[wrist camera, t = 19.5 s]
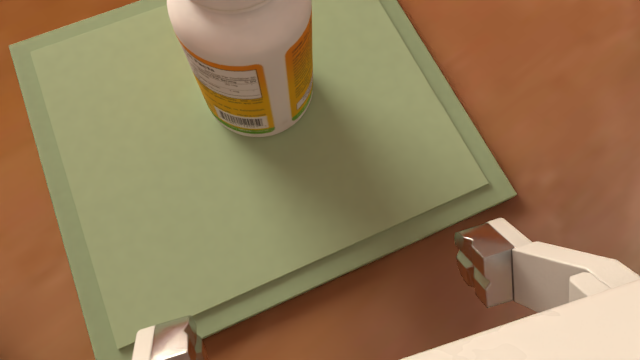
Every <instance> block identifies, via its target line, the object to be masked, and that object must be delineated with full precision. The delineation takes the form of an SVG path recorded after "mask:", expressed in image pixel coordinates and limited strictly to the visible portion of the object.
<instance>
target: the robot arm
mask: <svg viewBox="0 0 640 360" xmlns="http://www.w3.org/2000/svg"><path fill="white" fill-rule="evenodd" d="M454 239H455V245H456V246H457V247H458V248H459V252H458V254H457V256H456V259H457V266H458V269H459V271H460V274H461V276H462V278H463V280H464V281H465V282H466V284H467V285H468V286H471V287H474V288H475V294H476V296H477V297H478V298H479V299H480V300H481V302H482V303H483V304H484V305H485V306H486V307H487V308H489V307H493V306H496V305H499V304H503V303H506V302H509V301H513V300H514V302H517V303H519V304H521V305H523V306H525V307H527V308H530V309H532V310H534V311H536V312H538V313H537V314H534V315H531V316H528V317H525V318H522V319H519V320H516V321H513V322H510V323H507V324H504V325H501V326H498V327H495V328H492V329H489V330H486V331H483V332H480V333H477V334H474V335H471V336H468V337H465V338H463V339H460V340H457V341H454V342H451V343H448V344H445V345H442V346H439V347H436V348H433V349H430V350H427V351H424V352H421V353H418V354H415V355H412V356H409V357H406V358H403V359H400V360H640V276H639V275H638V274H636V273H635V272H633V271H632V270H631V269H629V268H628V267H626V266H625V265H623V264H622V263H621V262H619V261H618V260H615V259H611V258H606V257H602V256H598V255H594V254H589V253H585V252H581V251H577V250H572V249H568V248H564V247H560V246H555V245H551V244H547V243H543V242H538V241H537V242H532V241H530V240H529V239H528V238H527V237H525V236H524V235H523V234H522V233H521V232H519V231H518V230H517V229H516V228H515V227H513V226H512V225H511V224H510V223H508V222H507V221H506V220H505V219H504V218H498V219H495V220H492V221H489V222H486V223H485V224H481V225H478V226H475V227H472V228H469V229H466V230H463V231H460V232H456V233H455V237H454ZM132 360H208V357H207V351H206V348H205V345H204V342H203V340H202V337H200V336H198V335H197V325H196V323H195V321H194V319H193V317H192V316H191V315H188V316H185V317H181V318H178V319H174V320H171V321H167V322H164V323H160V324H157V325H154V326H150V327H147V328H144V329H141V330H139V331H138V332H137V334H136V339H135V345H134V350H133V355H132Z"/></svg>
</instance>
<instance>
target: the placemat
mask: <svg viewBox="0 0 640 360" xmlns="http://www.w3.org/2000/svg"><path fill="white" fill-rule="evenodd" d="M311 2H312V54H313V93H312V98H311V101H310V104H309V106H308V108H307V110H306V111H305V113H304V114H303V116H302V117H301V118H300V119H299V120H298V121H297V122H296V123H295V124H294V125H292V126H291V127H290V128H288V129H286V130H285V131H283V132H280V133H278V134H275V135H272V136H266V137H249V136H244V135H240V134H237V133H235V132H233V131H231V130H229V129H227V128H226V127H224V126H223V125H222V124H220V123H219V122H218V121H217V120H216V119H215V117H214V116H213V115H212V113H211V111H210V109H209V107H208V106H207V103H206V101H205V99H204V97H203V94H202V92H201V90H200V88H199V85H198V83H197V81H196V78H195V76H194V74H193V72H192V69H191V67H190V65H189V62H188V60H187V58H186V55H185V53H184V51H183V49H182V47H181V45H180V42H179V41H178V38H177V36H176V34H175V32H174V30H173V26H172V24H171V21H170V18H169V14H168V9H167V0H141V1H138V2H135V3H132V4H129V5H126V6H123V7H120V8H117V9H114V10H111V11H108V12H106V13H103V14H100V15H97V16H94V17H91V18H88V19H85V20H82V21H79V22H76V23H73V24H71V25H68V26H65V27H62V28H59V29H56V30H53V31H50V32H47V33H44V34H41V35H38V36H36V37H33V38H30V39H27V40H24V41H21V42H18V43H15V44H12V45H9V49H10V52H11V56H12V59H13V63H14V67H15V70H16V74H17V77H18V81H19V85H20V88H21V92H22V95H23V99H24V103H25V106H26V110H27V113H28V117H29V121H30V124H31V128H32V131H33V135H34V139H35V142H36V146H37V149H38V153H39V157H40V160H41V164H42V167H43V171H44V175H45V178H46V182H47V185H48V189H49V193H50V196H51V200H52V203H53V207H54V211H55V214H56V218H57V221H58V225H59V229H60V232H61V236H62V239H63V243H64V247H65V250H66V254H67V257H68V261H69V265H70V268H71V272H72V275H73V279H74V283H75V286H76V290H77V293H78V297H79V301H80V304H81V308H82V312H83V315H84V319H85V322H86V326H87V330H88V333H89V337H90V340H91V344H92V348H93V351H94V355H95V358H96V360H132V355H133V350H134V345H135V339H136V334H137V332H138V331H139V330H141V329H144V328H147V327H150V326H154V325H157V324H160V323H164V322H167V321H171V320H174V319H178V318H181V317H185V316H188V315H191V316H192V317H193V319H194V321H195V323H196V325H197V335H198V336H200V337H202V339H204V338H207V337H209V336H211V335H213V334H215V333H218V332H220V331H222V330H224V329H226V328H229V327H231V326H233V325H235V324H237V323H239V322H242V321H244V320H246V319H248V318H250V317H253V316H255V315H257V314H259V313H261V312H264V311H266V310H268V309H270V308H272V307H275V306H277V305H279V304H281V303H283V302H285V301H288V300H290V299H292V298H294V297H296V296H299V295H301V294H303V293H305V292H307V291H310V290H312V289H314V288H316V287H318V286H320V285H323V284H325V283H327V282H329V281H331V280H334V279H336V278H338V277H340V276H342V275H345V274H347V273H349V272H351V271H353V270H355V269H358V268H360V267H362V266H364V265H366V264H369V263H371V262H373V261H375V260H377V259H380V258H382V257H384V256H386V255H388V254H390V253H393V252H395V251H397V250H399V249H401V248H404V247H406V246H408V245H410V244H412V243H415V242H417V241H419V240H421V239H423V238H426V237H428V236H430V235H432V234H434V233H436V232H439V231H441V230H443V229H445V228H447V227H450V226H452V225H454V224H456V223H458V222H461V221H463V220H465V219H467V218H469V217H471V216H474V215H476V214H478V213H480V212H482V211H485V210H487V209H489V208H491V207H493V206H496V205H498V204H500V203H502V202H504V201H506V200H509V199H511V198H513V197H515V196H516V195H517V194H516V192H515V190H514V189H513V187H512V186H511V184H510V182H509V181H508V179H507V177H506V176H505V174H504V173H503V171H502V169H501V168H500V166H499V165H498V163H497V161H496V160H495V158H494V156H493V155H492V153H491V152H490V150H489V148H488V147H487V145H486V144H485V142H484V140H483V139H482V137H481V135H480V134H479V132H478V131H477V129H476V127H475V126H474V124H473V123H472V121H471V119H470V118H469V116H468V114H467V113H466V111H465V110H464V108H463V106H462V105H461V103H460V102H459V100H458V98H457V97H456V95H455V94H454V92H453V90H452V89H451V87H450V85H449V84H448V82H447V81H446V79H445V77H444V76H443V74H442V73H441V71H440V69H439V68H438V66H437V64H436V63H435V61H434V60H433V58H432V56H431V55H430V53H429V52H428V50H427V48H426V47H425V45H424V43H423V42H422V40H421V39H420V37H419V35H418V34H417V32H416V31H415V29H414V27H413V26H412V24H411V22H410V21H409V19H408V18H407V16H406V14H405V13H404V11H403V10H402V8H401V6H400V5H399V3H398V1H397V0H311Z"/></svg>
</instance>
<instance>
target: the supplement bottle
mask: <svg viewBox="0 0 640 360" xmlns="http://www.w3.org/2000/svg"><path fill="white" fill-rule="evenodd" d="M167 9H168V14H169V18H170V21H171V24H172V26H173V30H174V32H175V34H176V36H177V38H178V41H179V42H180V45H181V47H182V49H183V51H184V53H185V55H186V58H187V60H188V62H189V65H190V67H191V69H192V72H193V74H194V76H195V78H196V81H197V83H198V85H199V88H200V90H201V92H202V94H203V97H204V99H205V101H206V103H207V106H208V107H209V109H210V111H211V113H212V115H213V116H214V117H215V119H216V120H217V121H218V122H219V123H220V124H222V125H223V126H224V127H226V128H227V129H229V130H231V131H233V132H235V133H237V134H240V135H244V136H249V137H266V136H272V135H275V134H278V133H280V132H283V131H285V130H286V129H288V128H290V127H291V126H292V125H294V124H295V123H296V122H297V121H298V120H299V119H300V118H301V117H302V116H303V114H304V113H305V111H306V110H307V108H308V106H309V104H310V101H311V98H312V93H313V54H312V2H311V0H167Z"/></svg>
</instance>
